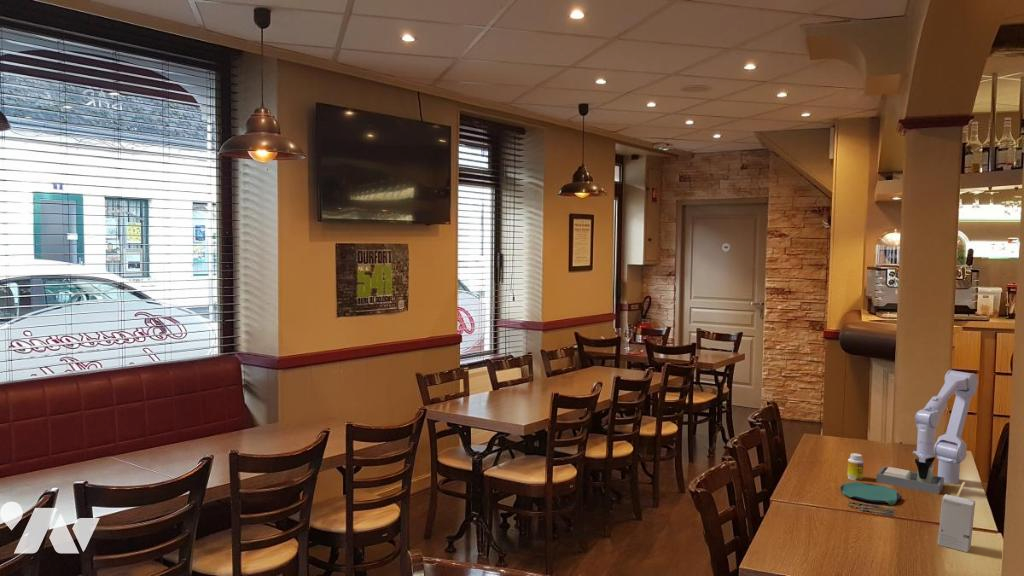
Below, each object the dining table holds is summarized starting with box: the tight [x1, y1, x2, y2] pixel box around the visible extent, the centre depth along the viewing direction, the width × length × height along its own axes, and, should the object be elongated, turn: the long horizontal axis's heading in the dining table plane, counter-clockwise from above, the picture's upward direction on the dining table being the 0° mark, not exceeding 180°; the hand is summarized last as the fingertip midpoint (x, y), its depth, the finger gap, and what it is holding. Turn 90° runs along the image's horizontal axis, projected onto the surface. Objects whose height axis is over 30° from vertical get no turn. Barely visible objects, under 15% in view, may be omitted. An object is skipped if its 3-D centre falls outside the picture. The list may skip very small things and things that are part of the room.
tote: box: [875, 465, 945, 495], centre depth 275 cm, size 13×21×4 cm, turn 52°
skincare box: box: [937, 493, 976, 553], centre depth 217 cm, size 8×6×15 cm
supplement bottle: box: [846, 452, 865, 482], centre depth 280 cm, size 6×6×10 cm
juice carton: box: [917, 464, 935, 484], centre depth 271 cm, size 4×4×8 cm
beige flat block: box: [883, 466, 911, 480], centre depth 277 cm, size 9×8×4 cm
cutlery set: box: [840, 481, 901, 517], centre depth 258 cm, size 20×30×2 cm, turn 152°
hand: (923, 476), depth 272 cm, fingers open, 5 cm apart
